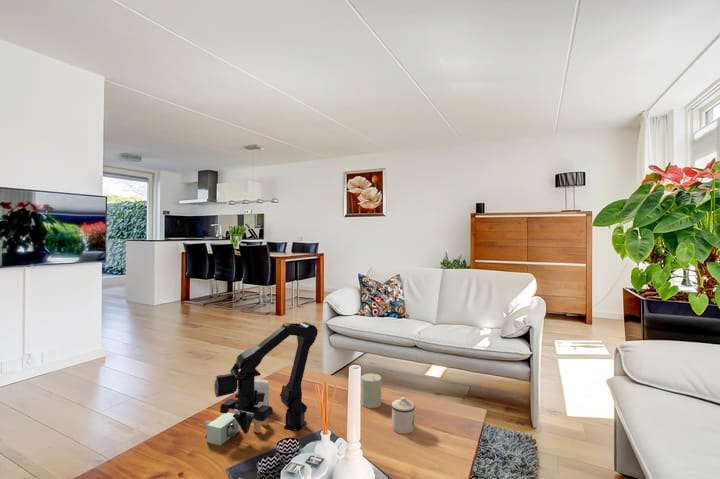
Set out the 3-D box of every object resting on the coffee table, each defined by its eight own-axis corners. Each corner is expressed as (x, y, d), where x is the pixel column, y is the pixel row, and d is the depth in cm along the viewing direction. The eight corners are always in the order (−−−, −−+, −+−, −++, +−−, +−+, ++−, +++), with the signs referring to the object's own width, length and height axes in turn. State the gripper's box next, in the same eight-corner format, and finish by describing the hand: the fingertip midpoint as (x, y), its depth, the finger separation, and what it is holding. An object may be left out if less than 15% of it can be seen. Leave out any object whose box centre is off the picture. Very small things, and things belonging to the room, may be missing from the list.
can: (367, 410, 148) (367, 381, 148) (356, 401, 156) (357, 374, 156) (385, 405, 152) (385, 377, 153) (374, 396, 160) (374, 370, 160)
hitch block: (239, 430, 131) (239, 414, 131) (220, 445, 121) (220, 428, 121) (226, 427, 133) (226, 412, 133) (206, 442, 123) (206, 425, 123)
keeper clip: (268, 424, 135) (268, 407, 136) (258, 432, 129) (258, 415, 129) (263, 423, 136) (263, 406, 136) (253, 431, 130) (253, 414, 130)
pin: (237, 433, 127) (237, 421, 128) (229, 439, 123) (229, 427, 123) (210, 427, 132) (210, 415, 132) (201, 433, 127) (201, 421, 127)
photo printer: (269, 406, 150) (270, 377, 150) (268, 410, 146) (268, 381, 146) (245, 407, 149) (245, 378, 149) (243, 412, 145) (243, 382, 145)
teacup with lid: (418, 433, 130) (418, 402, 130) (394, 435, 129) (394, 403, 129) (408, 417, 142) (409, 388, 142) (387, 418, 141) (387, 390, 141)
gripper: (281, 384, 128) (281, 426, 128) (239, 377, 135) (239, 417, 135) (263, 397, 118) (263, 443, 118) (219, 389, 124) (218, 432, 124)
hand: (246, 433), depth 124 cm, fingers closed
